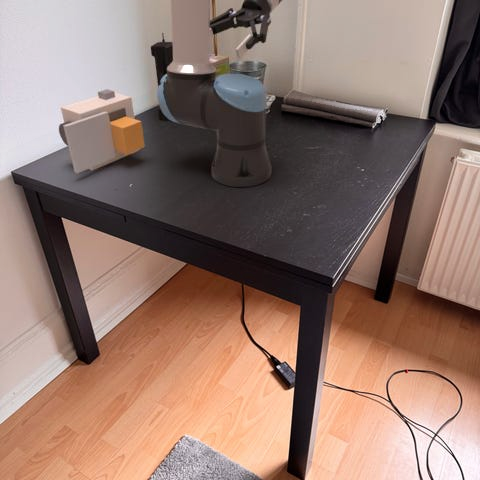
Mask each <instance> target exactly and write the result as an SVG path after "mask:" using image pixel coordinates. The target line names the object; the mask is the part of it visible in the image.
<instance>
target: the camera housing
mask: <svg viewBox="0 0 480 480" xmlns="http://www.w3.org/2000/svg"><path fill="white" fill-rule="evenodd" d="M60 110H61V111H60V112H61V115H62V118H63V122H62V123H60V124H59V125H58V133H59V136H60V139H62V141H63V143H64V144H65V145H66V146H67V147H68V143H67V139H66V135H65V131H64V127H63V125H66V124H69V123H72V122H75V121H78V120H81V119H84V118H87V117H90V116H93V115H96V114H99V113H102V112H108V115H109V120H110V122H112V121H115V120H117V119H120V118H123V117H129V118H132V119H135V114H134V113H135V112H134V105H133V99H132V97H131V96H129V95H125V94H121V93H118V92H115V91H114V90H112V89H111V90H110V89H104V90H101V91H98V92H97V96H93V97H90V98H87V99H84V100H80V101H77V102H74V103H71V104H68V105H63V106H60ZM139 151H140V149H139V150H137V151H134V152H132V153H130V154H124V153H122V152H119V151H117V150H115V153H116V157H115V158H113V159H110V160H108V161H106V162H103V163H101V164H98V165H96V166H94V167H91V168H89V169H88V170H90V171H95V170H97V169H99V168H101V167H104V166H106V165H109V164H110V163H114V162H116V161H118V160H120V159H122V158H123V159H124V157H127V156H130V155H132V154H134V153H137V152H139Z"/></svg>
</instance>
